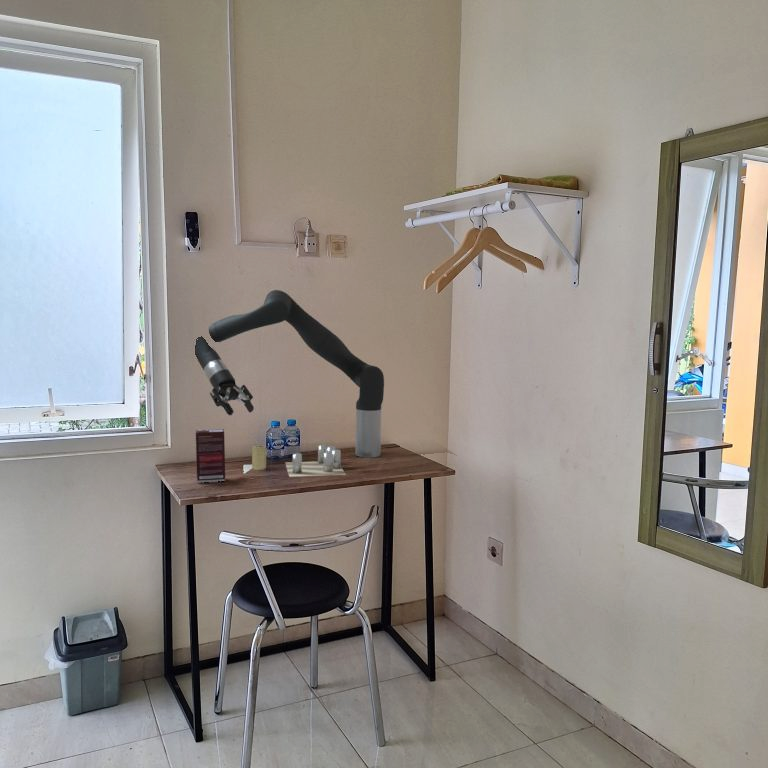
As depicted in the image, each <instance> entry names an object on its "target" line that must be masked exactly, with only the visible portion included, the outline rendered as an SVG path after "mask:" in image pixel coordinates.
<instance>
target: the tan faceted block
mask: <svg viewBox="0 0 768 768" xmlns="http://www.w3.org/2000/svg"><path fill="white" fill-rule="evenodd" d="M251 465H252V469H251V470H254V471H265V470H266V469H267V445H263V444H255V445H253V446H251Z"/></svg>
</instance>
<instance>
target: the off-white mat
mask: <svg viewBox="0 0 768 768" xmlns="http://www.w3.org/2000/svg"><path fill="white" fill-rule="evenodd" d="M242 467H243V469H242V470H243V471H244V472H243V474H244V475H245V474H246V473H247V472H249V471H251V470H253V469H252V464H243V466H242Z"/></svg>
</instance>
